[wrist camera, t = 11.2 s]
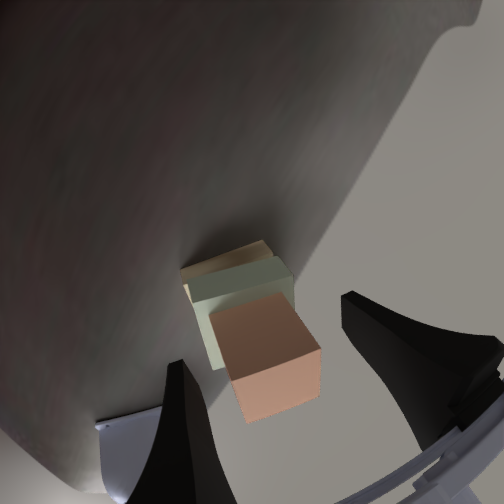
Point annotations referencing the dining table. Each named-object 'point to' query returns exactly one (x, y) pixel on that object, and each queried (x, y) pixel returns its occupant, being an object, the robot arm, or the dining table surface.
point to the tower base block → (227, 261)
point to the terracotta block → (268, 356)
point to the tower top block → (236, 294)
